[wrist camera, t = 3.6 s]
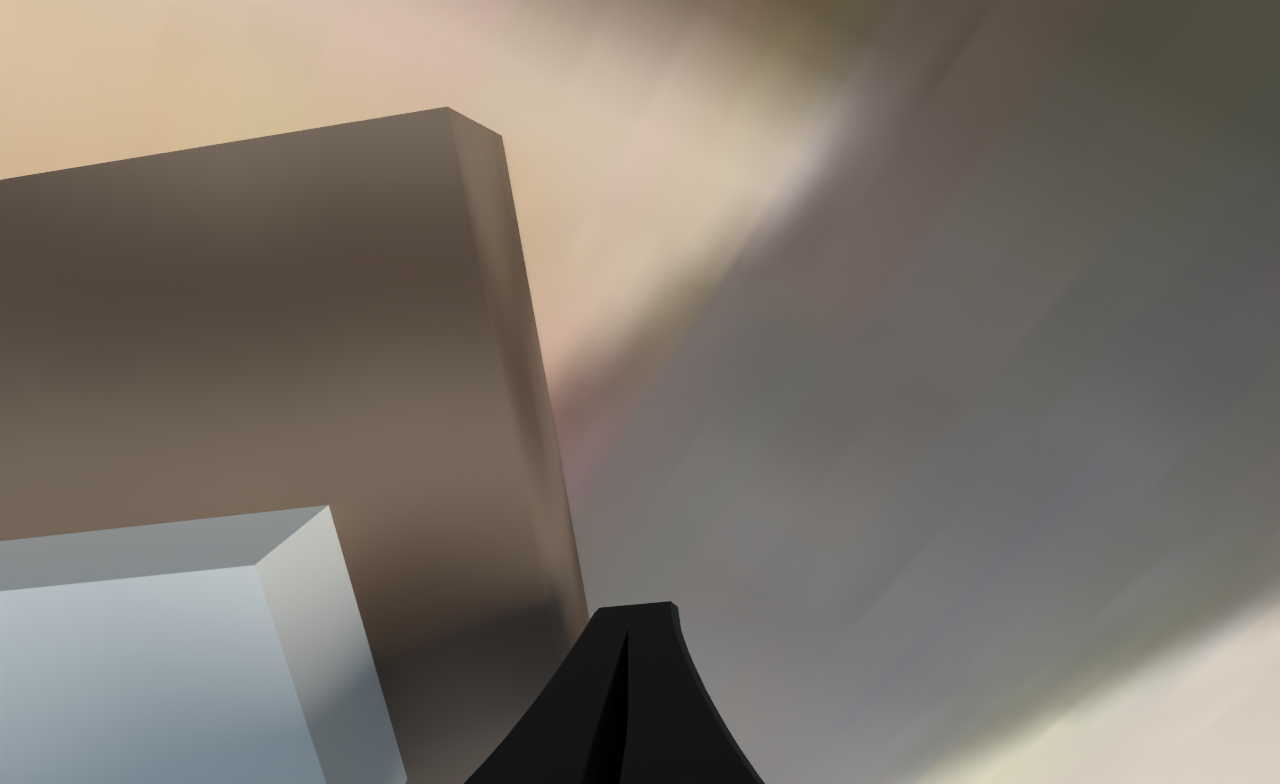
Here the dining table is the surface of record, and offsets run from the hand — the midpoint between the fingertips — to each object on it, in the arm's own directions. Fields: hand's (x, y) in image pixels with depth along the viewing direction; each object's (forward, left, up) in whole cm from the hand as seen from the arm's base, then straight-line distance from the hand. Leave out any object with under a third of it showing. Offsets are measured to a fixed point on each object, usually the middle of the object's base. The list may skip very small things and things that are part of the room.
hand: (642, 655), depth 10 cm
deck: (0, +9, -4) cm, 9 cm away
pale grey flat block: (0, +10, -1) cm, 10 cm away
